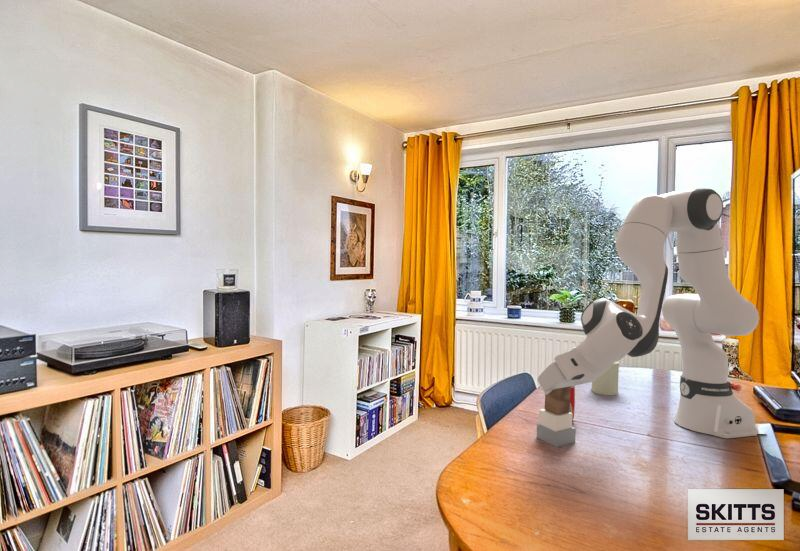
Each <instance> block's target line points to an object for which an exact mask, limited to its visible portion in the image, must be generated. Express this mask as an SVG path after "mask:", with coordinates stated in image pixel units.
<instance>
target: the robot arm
mask: <svg viewBox="0 0 800 551" xmlns="http://www.w3.org/2000/svg"><path fill="white" fill-rule="evenodd" d="M723 212H724V202H723V199H722V197H721V196H720V194H718V192H716V191H715V190H714V189H713V188H712V189H711V188H702V187H701V188H700V187H699V188H696V189H685V190H683V189H682V190H676V191H675V190H674V191H671V192H667V193H662V194H660V195H658V194H649V195H644V196H642V197H640V198H639V199H638V200H637V201H635V203H634V204H633V206H632V207H631V209H630V211H629V212H628V214H627V216H626V217H625V219H624V221H623V223H622V225H621V227H620V230H619V232H618V235H617V236H616V237H617V238H616V241H615V248H616V253H617V255H618V257H619V258H620V260H621V261H622V262H623V264H624V265H626V267H628V269H629V270H630V271H631V272H632V273H633V274H634V275H635V277H636V278H637V280H638V281H639V284H640V288H641V291H640V297H639V302H638V307H637V310H636V311H637V312H636V313H634V312H631V311H630V310H628V309H627V308H624V307H623V306H621V305H620V304H618V303H616V302H614V301H611V300H610V299H607V298H605V297H602V298H597V299H594V300H592V301H591V302H590V303H589V304H588V305H586V307H585V308H584V309H583V311H582V312H581V314H580V322H581V326H582V330H583V332H584V335H586V338H585V339H584V340H582V341H581V342H580V343H579V344H577V345H576V346H574V347H572V348H571V349H569V350H566V351H564V352H562V353H559V354H557V355H555V357H554V359H553V360H554V361H553V362H551V363H550V364H549V365H548V366H547V367H546V368H545V369H544V370H543V371H542V372H541V373H540V374H539V375H538V377H537V383H538V385H539V386H540V388H541V389H542V391H543V393H544V395H545V394H546V395H547V394H551V393H552V392H553V390H554V389H559V388H564V387H570V386H571V388H572V387H576V386H579V385H580V386H581V385H584V384H589V383H592V382H593V381H595V380H597V379H598V378H599V377H600V376H601V375H603V374H604V373H605V372H606V371H607V370H609V369H610V368H611V366H612V364H613V363H614V362H617V361H618V362H620V361H621V360H622V359H623V358H624V357H626V356H627V355H628V357H631V358H637V357H643V356H646V355H649V354H650V353H652V352H653V351H654V350H655V348H656V347H657V345H658V344H659V339H660V338H659V335H660V319H661V315H662V317H663V319H664V320H665V322H666V323H667V324H668V325H670V327H671V328H672V329H673V331H674V333H675V334H676V336H677V339H678V342H679V344H680V347H681V357H682V358H681V359H682V360H681V362H682V366H681V367H682V368H681V369H682V374H681V375H680V379H679V391H680V395H679V396H680V397H679V403H678V407H677V410H676V414H675V416H674V419H673V421H674V423H675V424H676V425H678V426H679V427H682V428H685V429H687V430H690V431H693V432H697V433H702V434H707V435H712V436H716V437H718V438H722V439H735V438H744V437H751V436H752V437H753V436H758V435H757V434H758V430H757V426H759V425H758V424H757V423H756V417H755V413H754V411H753V409H752V408H751V407H749V406H748V405H747V404H745V402H743V401H742V400H740V399H739V398H738V396H735V394H734V392H733V390H734V391H736V392H740V391H742V388H743V387H742V385H741V384H739V383H735V382H732V383H731V382H730V381H728V378H729V377H728V371H729V370H728V369H729V355H728V354H727V352H726V351H725V350H724V349H722V348H721V347H720V346H719V345H718V344H717V343H716V342H715V340H714V338H713V335H712V334H714V335H720V336H725V337H730V336H731V337H735V336H736V337H737V336H740V337H741V336H748V335H750V334H751V333H754V330H756V329H757V327H758V326H759V321H760V315H759V311H758V309H757V307H756V306H755V304H753V302H751V301H749V300H748V299H747V298H745V297H744V296H742V295H741V293H740V292H739V291H738V290H737V289H736V287H735V286H734V284H733V283H732V281H731V279H730V277H729V275H728V271H727V266H726V261H725V254H724V248H723V240H722V235H721V234H722V233H721V230H720V227H719V224H718V223H719V221H720V219H721V218H722V215H723ZM669 233H676V234H675V238H676V240H675V243H676V245H675V246H676V255H677V265H678V269H679V270H678V272H679V276H680V278H681V280H683V281H684V282H685V283H687V284H688V285H690V286H691V287H692V288H693V289H694V290H695V291H696V293H678V294H672V295H670V296H668V297H667V298H666V299H665V293H666V289H667V284H668V283H667V282H668V276H669V268H668V266H667V264H666V261H665V255H664V250H665V249H664V247H665V242H666V239H667V237H668V235H669ZM664 300H665V301H664Z"/></svg>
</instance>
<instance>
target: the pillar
mask: <svg viewBox="0 0 800 551" xmlns="http://www.w3.org/2000/svg"><path fill="white" fill-rule="evenodd" d="M570 390H571V386H570V387H564V388H559V389H554V390H553V392H552V393H551V394H547V395H546V394H545V393H544V408H543V409H545V410H547V411H550V412H552V413H555V414H557V415H559V414H564V413H569V407H570Z"/></svg>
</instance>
